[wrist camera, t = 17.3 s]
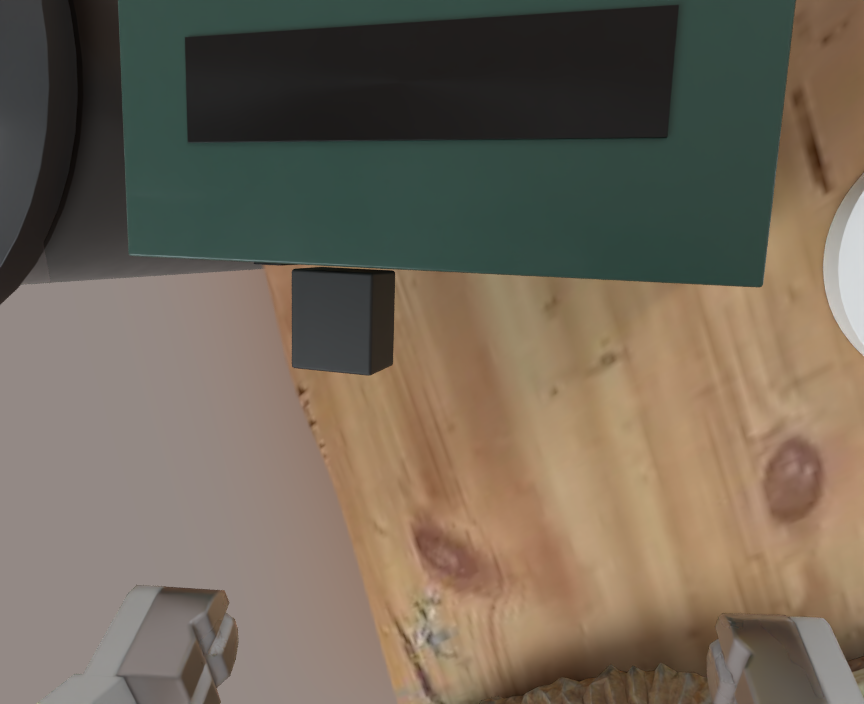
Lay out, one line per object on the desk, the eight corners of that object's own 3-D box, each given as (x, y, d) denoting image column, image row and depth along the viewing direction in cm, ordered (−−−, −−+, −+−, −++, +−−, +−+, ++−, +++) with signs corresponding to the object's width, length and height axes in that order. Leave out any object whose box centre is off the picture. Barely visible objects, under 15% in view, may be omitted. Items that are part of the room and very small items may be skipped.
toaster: (708, 269, 28) (774, 299, 13) (366, 254, 33) (119, 263, 18) (730, 54, 27) (832, -195, 12) (369, 70, 31) (102, -93, 16)
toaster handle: (393, 365, 23) (370, 376, 21) (319, 358, 24) (290, 368, 22) (396, 270, 22) (373, 273, 21) (319, 266, 23) (290, 268, 21)
